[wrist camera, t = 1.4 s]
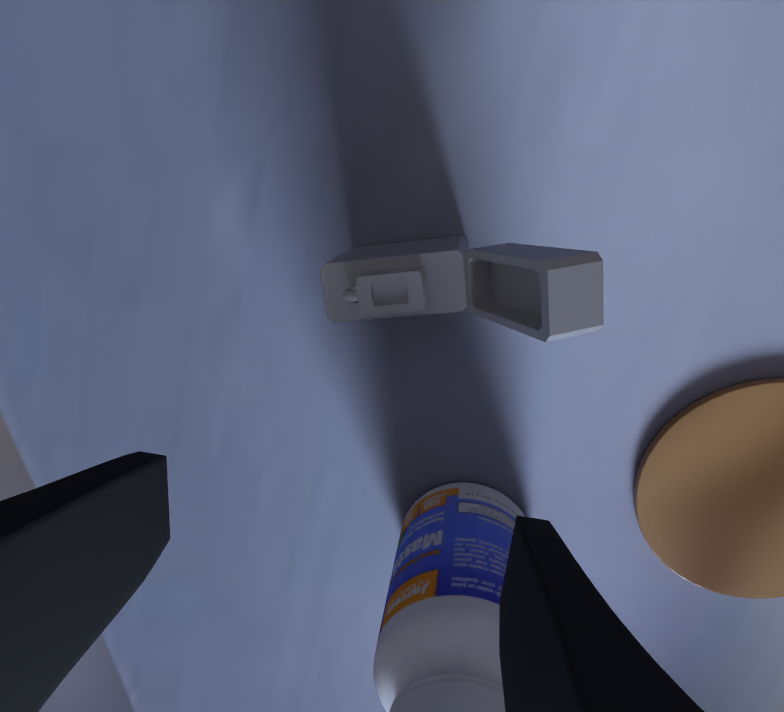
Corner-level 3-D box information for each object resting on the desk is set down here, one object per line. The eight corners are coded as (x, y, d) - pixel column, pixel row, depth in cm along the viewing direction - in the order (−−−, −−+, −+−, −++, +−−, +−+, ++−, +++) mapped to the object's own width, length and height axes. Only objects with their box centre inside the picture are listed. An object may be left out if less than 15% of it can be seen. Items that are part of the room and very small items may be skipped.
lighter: (358, 294, 20) (285, 362, 12) (351, 247, 19) (271, 288, 12) (556, 276, 19) (609, 339, 11) (554, 225, 18) (609, 255, 11)
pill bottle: (427, 459, 22) (388, 663, 12) (555, 507, 21) (611, 751, 12) (386, 562, 23) (325, 805, 14) (503, 606, 23) (518, 883, 14)
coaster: (955, 410, 18) (965, 415, 18) (834, 616, 21) (841, 624, 21) (681, 352, 19) (685, 356, 18) (602, 558, 22) (604, 565, 21)
